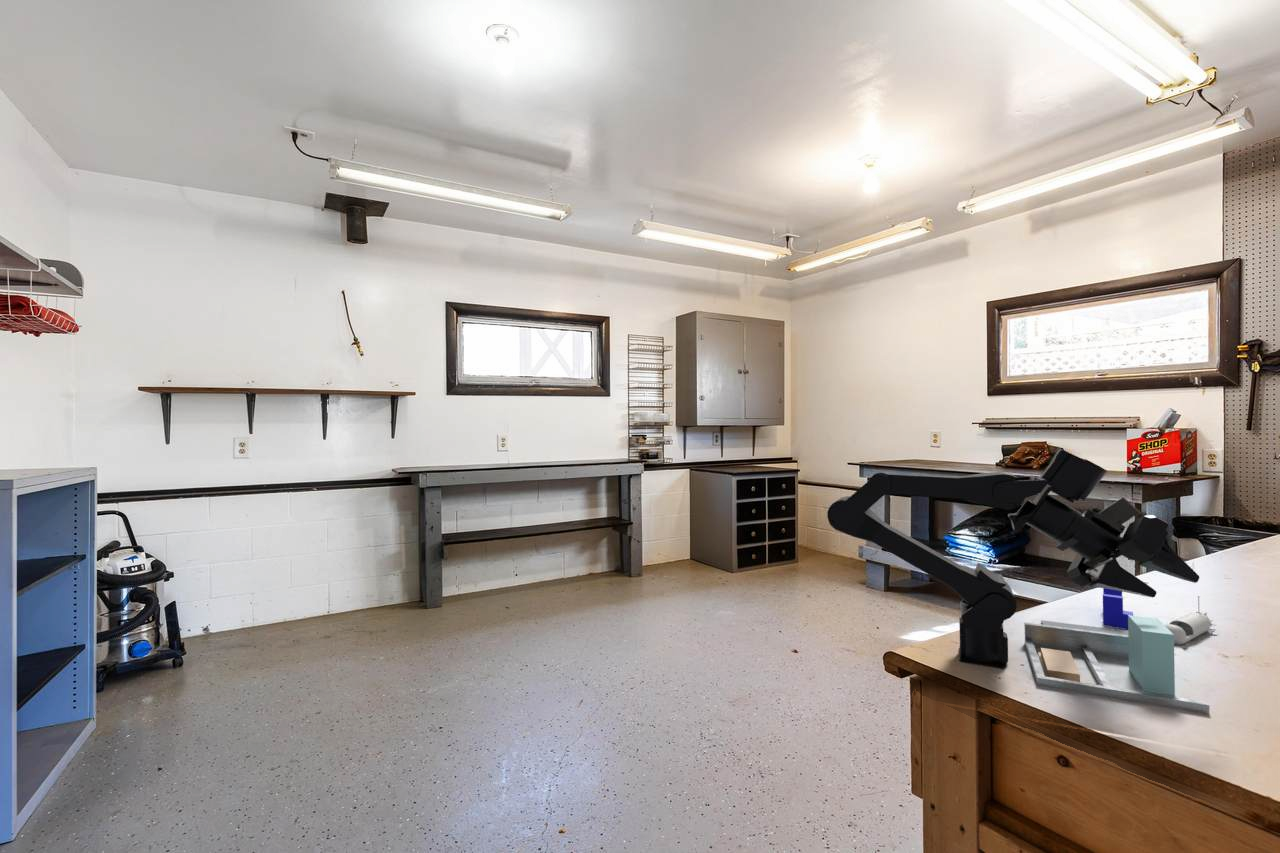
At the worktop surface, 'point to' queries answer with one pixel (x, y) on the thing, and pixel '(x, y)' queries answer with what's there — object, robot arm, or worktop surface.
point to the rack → (1094, 664)
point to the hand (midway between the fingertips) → (1175, 587)
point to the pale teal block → (1151, 654)
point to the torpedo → (1189, 626)
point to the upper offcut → (1060, 664)
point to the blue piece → (1114, 609)
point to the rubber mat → (1085, 627)
